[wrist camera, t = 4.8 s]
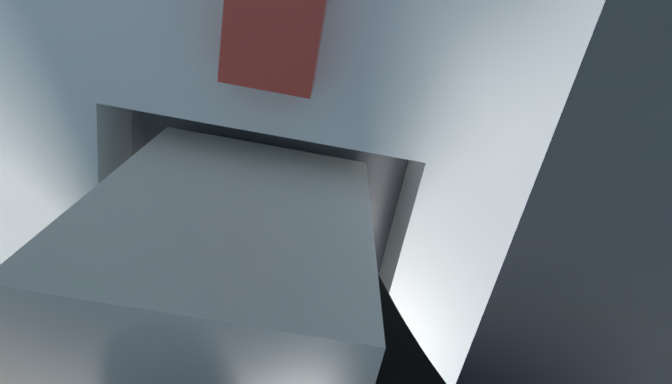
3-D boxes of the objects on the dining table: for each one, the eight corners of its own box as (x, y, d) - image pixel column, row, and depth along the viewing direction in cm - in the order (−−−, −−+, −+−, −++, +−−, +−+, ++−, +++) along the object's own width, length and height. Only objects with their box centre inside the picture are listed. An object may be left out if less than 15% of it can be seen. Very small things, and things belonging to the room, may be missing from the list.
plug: (366, 162, 11) (393, 422, 5) (331, 319, 13) (314, 663, 6) (167, 127, 11) (-101, 347, 4) (160, 291, 12) (-36, 621, 6)
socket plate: (572, -46, 10) (652, -52, 7) (399, 449, 16) (409, 539, 13) (20, -162, 9) (-105, -211, 7) (64, 399, 15) (7, 485, 13)
